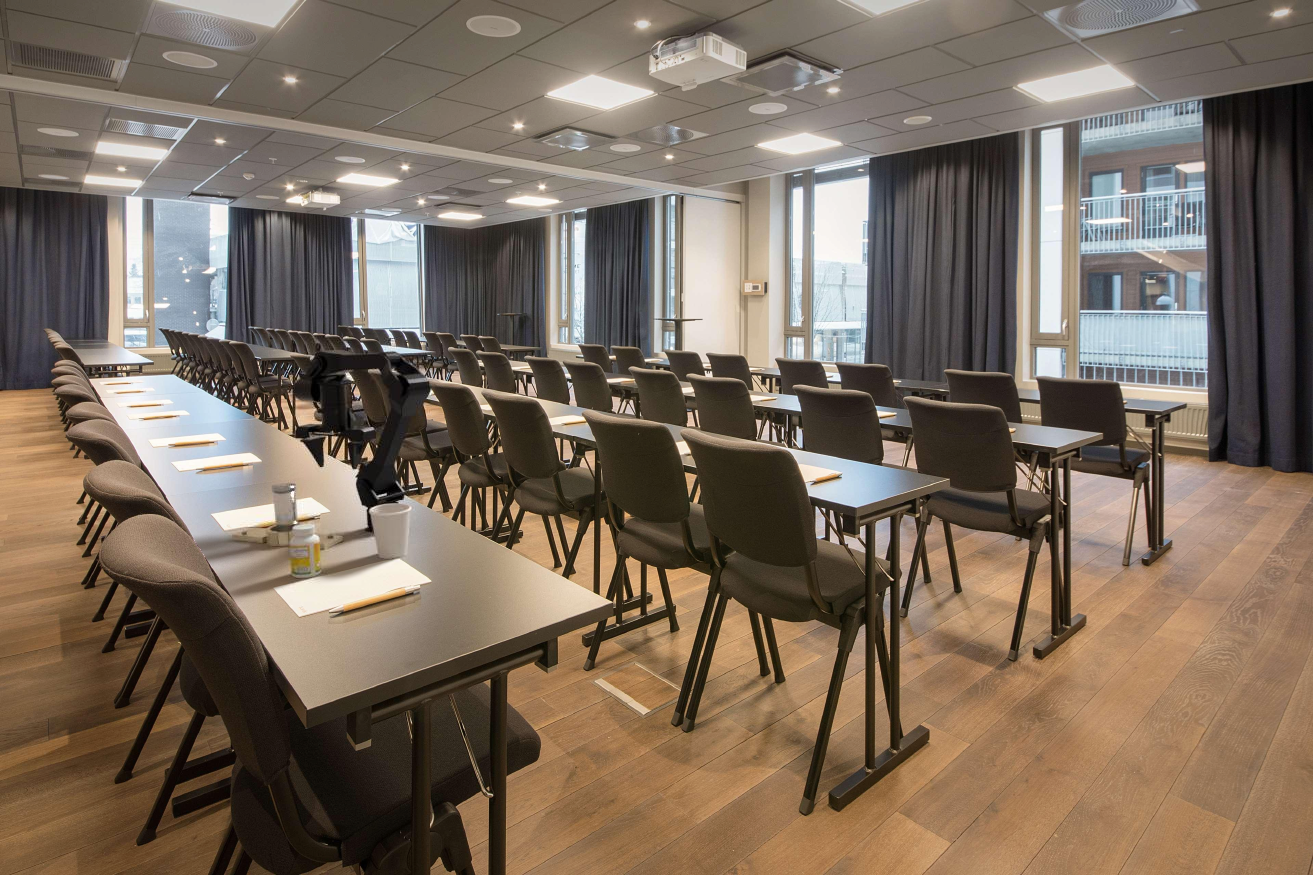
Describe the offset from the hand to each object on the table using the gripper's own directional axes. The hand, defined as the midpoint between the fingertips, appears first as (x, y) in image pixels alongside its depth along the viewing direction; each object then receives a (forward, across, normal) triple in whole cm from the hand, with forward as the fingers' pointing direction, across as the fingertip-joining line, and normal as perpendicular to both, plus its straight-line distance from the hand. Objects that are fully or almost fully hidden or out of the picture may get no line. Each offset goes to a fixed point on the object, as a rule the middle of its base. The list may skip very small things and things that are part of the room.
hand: (338, 468), depth 185 cm
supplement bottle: (+13, -18, +34) cm, 41 cm away
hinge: (+13, +1, +17) cm, 21 cm away
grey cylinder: (+13, +1, +17) cm, 21 cm away
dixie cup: (+13, -27, +19) cm, 36 cm away
